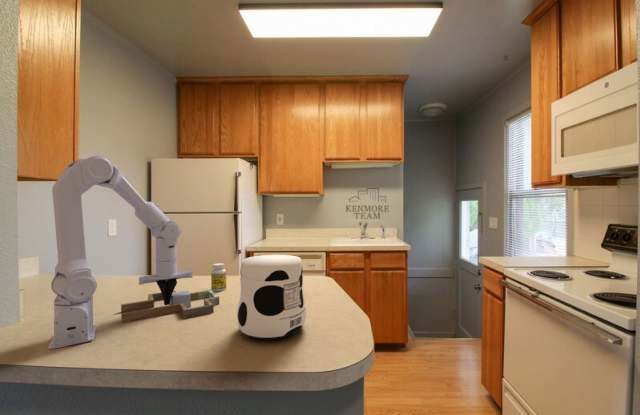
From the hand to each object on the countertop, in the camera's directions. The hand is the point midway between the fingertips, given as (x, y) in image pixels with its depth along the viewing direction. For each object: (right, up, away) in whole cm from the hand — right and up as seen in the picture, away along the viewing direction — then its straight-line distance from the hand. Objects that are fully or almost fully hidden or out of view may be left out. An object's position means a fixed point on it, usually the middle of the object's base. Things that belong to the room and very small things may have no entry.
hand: (166, 304), depth 90 cm
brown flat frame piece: (+1, -1, 0) cm, 2 cm away
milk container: (+35, -2, -15) cm, 38 cm away
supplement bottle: (+9, -1, +20) cm, 22 cm away
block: (+3, -1, +2) cm, 4 cm away
